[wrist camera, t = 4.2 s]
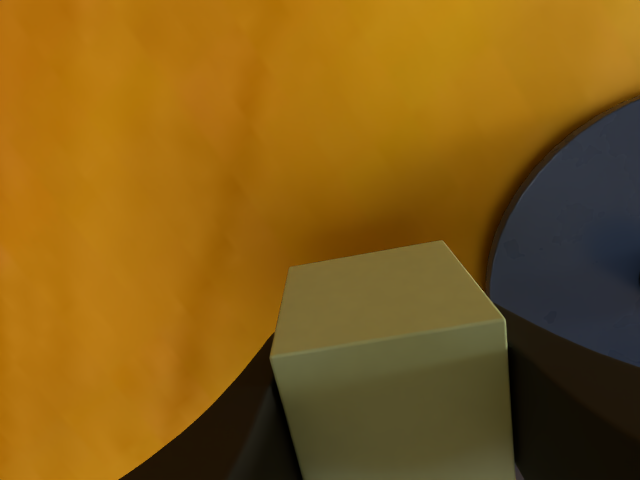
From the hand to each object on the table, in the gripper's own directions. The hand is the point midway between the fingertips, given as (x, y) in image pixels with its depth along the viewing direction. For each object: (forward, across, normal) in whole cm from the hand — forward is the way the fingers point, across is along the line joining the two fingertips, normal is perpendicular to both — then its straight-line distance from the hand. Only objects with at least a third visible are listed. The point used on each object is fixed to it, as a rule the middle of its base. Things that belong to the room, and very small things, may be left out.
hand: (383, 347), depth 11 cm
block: (+1, 0, 0) cm, 1 cm away
